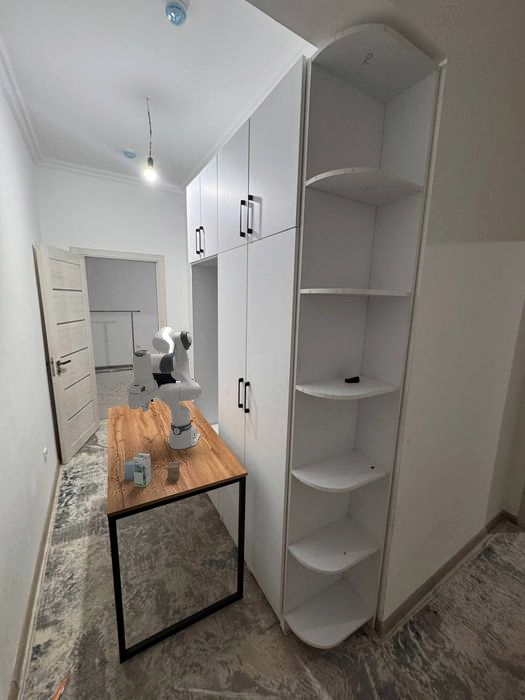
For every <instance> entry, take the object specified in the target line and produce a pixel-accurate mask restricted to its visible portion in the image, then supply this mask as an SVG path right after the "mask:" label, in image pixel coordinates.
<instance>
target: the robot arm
mask: <svg viewBox="0 0 525 700" xmlns="http://www.w3.org/2000/svg"><path fill="white" fill-rule="evenodd" d="M151 341H152V347H153V349H155V350H156V351H157V352H158V353H151V351H150V350H148V349H139V350H137V351H135V352H133V357H132V372H133V381H132V383H130V385H129V386H128V387H127V390H126V392H127V393H128V395H127V403H128V407H129V409H131V410H138V409H140V408H141V412H143V413H146V412H147V411H149V410H150V404H151V400H154V399H155V398H156V397H157V398H158V400H160V401H161V402H162V403H164V404H165V405H166V406H167V407H168V409H169V411H170V417H171V423H170V430H169V435H168V440H167V444H168V445H169V447H170V448H171V449H174V450H185V449H189V448H190V447H196V446H197V444H198V442H199V440H200V438H201V433H199V432H198V431H197V427H196V426H194V425H192V423H193V422H194V419H193V418H191V410H190V408H189V407H187V406H186V405H184V404H182V403H181V402H188V401H189V402H192V401H196V400H199V399H200V398H201V396H202V394H203V389H202V387H201V385H200V383H198V382H196V381H195V380H194V379H193V378H192V376H191V373H190V372H191V371H190V359H189V354H188V350H190V347H191V346H192V343H193V338H192V335H191V333H190V332H189V331H186V330H182V331H178V332H176V331H175V330H174V329H173V328H172V327H170V326H163V327H162V328H160V329H159V330H158V331H157V332H156V333H155V334H154V336H153V337H152V340H151ZM153 374H166V375H167V374H168V375H169V374H170V375H171V377H172V378H173V379H174V380H176V381H178V382H177V383H175V382H174V383H173V382H172V383H165V384H161V385H160V386H159V385H158V383H157V380H156V379H155V378H154V375H153ZM199 437H200V438H199ZM198 439H199V440H198Z"/></svg>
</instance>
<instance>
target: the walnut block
mask: <svg viewBox="0 0 525 700" xmlns="http://www.w3.org/2000/svg"><path fill="white" fill-rule="evenodd" d="M166 468H167V482H169V481H179V478H180V461H170V462H168V465H167V467H166Z"/></svg>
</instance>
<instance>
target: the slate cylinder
mask: <svg viewBox="0 0 525 700" xmlns="http://www.w3.org/2000/svg"><path fill="white" fill-rule="evenodd" d="M123 470H124V471H123V473H124V480H125V481H126V482H130V481H131V482H132V481H134V464H133V459H131V460H127V461H125V462H124V463H123Z"/></svg>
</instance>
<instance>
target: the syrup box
mask: <svg viewBox="0 0 525 700" xmlns="http://www.w3.org/2000/svg"><path fill="white" fill-rule="evenodd" d="M132 460H133V464H134V479H133V481H134V487H140V488H146V487H147V486H148V485H149V484H150V483H151V482H152V467H151V466H152V465H151V454H150V453H144V452H143V453H141V452H139V453H138V454H136V455H135V456H134V457H133V458H132Z"/></svg>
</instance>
